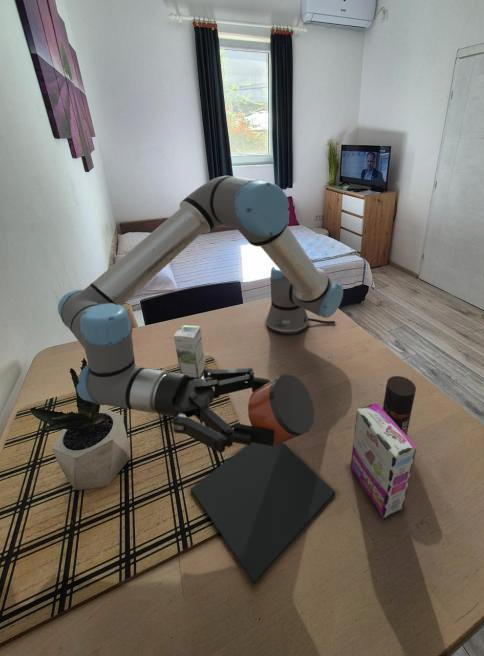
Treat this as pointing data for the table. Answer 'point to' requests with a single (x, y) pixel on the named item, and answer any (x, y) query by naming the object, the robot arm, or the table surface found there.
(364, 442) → the candy bar box
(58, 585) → the table surface
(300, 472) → the mat
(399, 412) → the deodorant
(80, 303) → the robot arm
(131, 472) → the table surface
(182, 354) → the syrup box
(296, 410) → the jar
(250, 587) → the table surface
